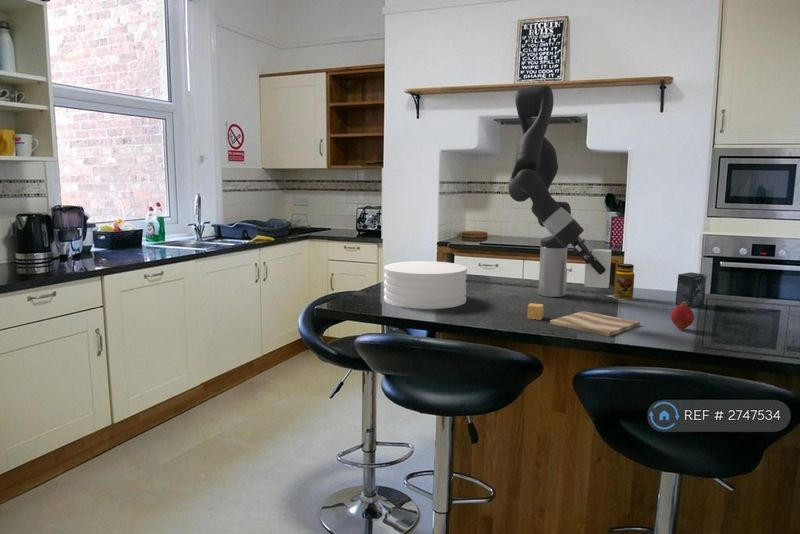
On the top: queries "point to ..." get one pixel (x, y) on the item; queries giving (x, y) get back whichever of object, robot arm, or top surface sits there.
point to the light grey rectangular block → (591, 274)
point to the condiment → (624, 282)
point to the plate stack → (425, 284)
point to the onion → (682, 316)
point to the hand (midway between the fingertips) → (603, 270)
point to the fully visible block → (535, 311)
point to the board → (595, 323)
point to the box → (691, 289)
